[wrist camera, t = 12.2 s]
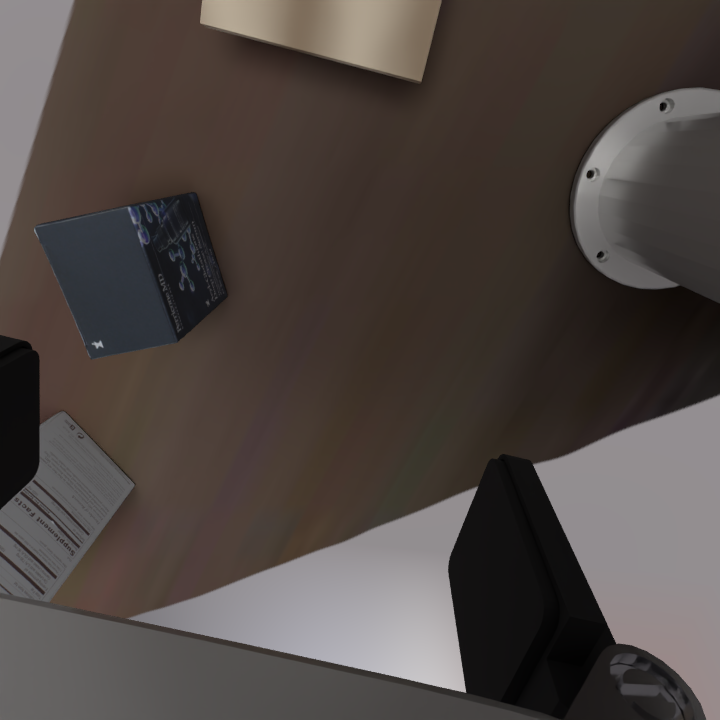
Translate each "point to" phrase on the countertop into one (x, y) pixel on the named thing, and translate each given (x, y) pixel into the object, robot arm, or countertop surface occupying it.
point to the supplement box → (58, 511)
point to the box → (135, 273)
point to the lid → (336, 29)
